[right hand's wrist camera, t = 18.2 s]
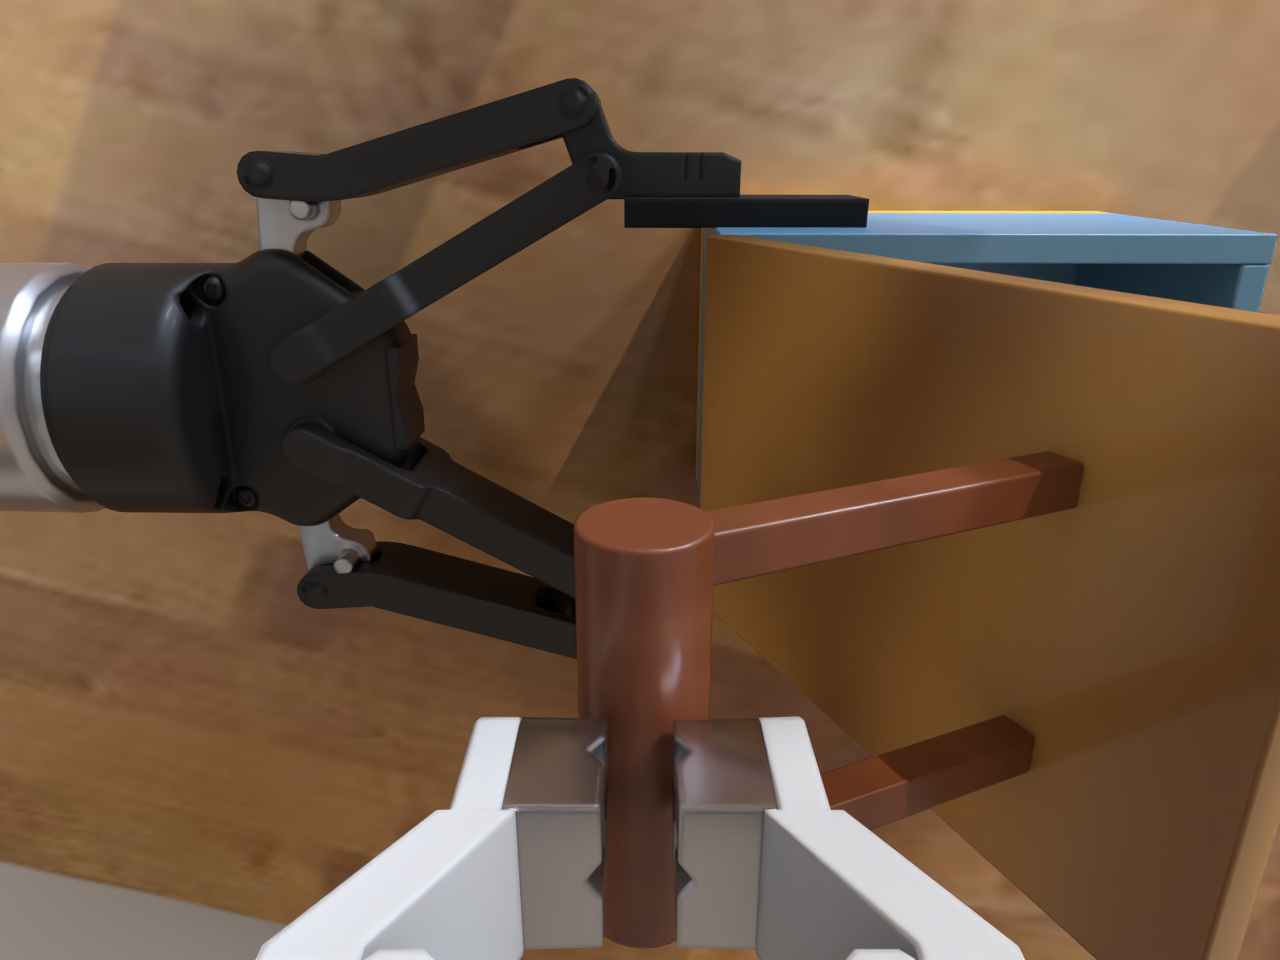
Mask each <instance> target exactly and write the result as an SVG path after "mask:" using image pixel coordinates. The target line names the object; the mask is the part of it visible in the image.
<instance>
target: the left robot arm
mask: <svg viewBox="0 0 1280 960" xmlns="http://www.w3.org/2000/svg"><path fill="white" fill-rule="evenodd" d="M562 137H563V139H564V142H565V144H566V147H567V150H568V153H569V155H570V158H571V161H572V164H573V165H571V166H570V167H568V168H566V169H565V170H563V171H561V172H560V173H558V174H557V175H555V176H553V177H552V178H550V179H548V180H547V181H545V182H543V183H542V184H540V185H539V186H537V187H535V188H534V189H532V190H530V191H529V192H527V193H525V194H524V195H522V196H521V197H519V198H517V199H516V200H514V201H512V202H511V203H509V204H507V205H506V206H504V207H503V208H501V209H499V210H498V211H496V212H494V213H493V214H491V215H489V216H488V217H486V218H484V219H483V220H481V221H480V222H478V223H476V224H475V225H473V226H471V227H470V228H468V229H466V230H465V231H463V232H462V233H460V234H458V235H457V236H455V237H453V238H452V239H450V240H448V241H447V242H445V243H444V244H442V245H440V246H439V247H437V248H435V249H434V250H432V251H430V252H429V253H427V254H425V255H424V256H422V257H421V258H419V259H417V260H416V261H414V262H412V263H411V264H409V265H407V266H406V267H404V268H403V269H401V270H399V271H398V272H396V273H394V274H392V275H390V276H389V277H387V278H385V279H383V280H382V281H380V282H378V283H377V284H375V285H373V286H372V287H370V288H368V289H367V290H365V289H363V288H362V287H360V286H359V285H357V284H356V283H354V282H353V281H351V280H350V279H349V278H347V277H346V276H344V275H343V274H341V273H340V272H338V271H337V270H336V269H334V268H333V267H331V266H330V265H328V264H327V263H325V262H324V261H322V260H321V259H320V258H318V257H317V256H315V255H314V254H312V253H311V252H309V251H307V250H306V242H307V239H308V237H309V235H310V234H311V233H312V232H313V231H315V230H316V229H318V228H323V227H328V226H330V225H332V224H334V223H335V222H336V221H337V220H338V218H339V215H340V211H341V200H344V199H351V198H359V197H366V196H370V195H374V194H379V193H382V192H386V191H389V190H392V189H395V188H399V187H402V186H405V185H408V184H412V183H415V182H418V181H422V180H425V179H428V178H431V177H435V176H438V175H441V174H444V173H448V172H451V171H454V170H457V169H461V168H464V167H467V166H471V165H474V164H477V163H480V162H484V161H487V160H490V159H493V158H497V157H500V156H503V155H507V154H510V153H513V152H516V151H520V150H523V149H526V148H529V147H533V146H536V145H539V144H542V143H546V142H549V141H552V140H556V139H559V138H562ZM740 174H741V160H739V159H736V158H734V157H732V156H730V155H727V154H725V153H689V152H688V153H685V152H630V151H628V150H625V149H623V148H622V147H621V146H619V145H618V144H617V142H616V141H615V140H614V138H613V136H612V134H611V132H610V129H609V126H608V123H607V120H606V117H605V115H604V112H603V109H602V106H601V101H600V99H599V97H598V95H597V94H596V92H595V91H594V90H593V89H592V88H591V87H590V86H589V85H588V84H586V83H585V82H584V81H582V80H579V79H576V78H573V79H565V80H562V81H559V82H556V83H552V84H549V85H546V86H543V87H540V88H536V89H533V90H530V91H527V92H524V93H520V94H517V95H514V96H511V97H508V98H504V99H501V100H498V101H495V102H492V103H488V104H485V105H482V106H479V107H476V108H472V109H469V110H466V111H463V112H460V113H457V114H453V115H450V116H447V117H444V118H441V119H437V120H434V121H431V122H428V123H425V124H421V125H418V126H415V127H412V128H409V129H405V130H402V131H399V132H396V133H393V134H389V135H386V136H383V137H380V138H377V139H373V140H370V141H367V142H364V143H361V144H357V145H354V146H351V147H348V148H345V149H342V150H338V151H335V152H332V153H329V154H316V153H303V152H284V151H255V152H249V153H247V154H246V155H244V156H243V157H242V158H241V160H240V162H239V163H238V169H237V175H238V179H239V182H240V184H241V185H242V187H243V188H244V190H245V191H246V192H248V193H249V194H251V195H252V196H255V197H256V201H257V216H258V230H259V244H260V251H258V252H256V253H254V254H252V255H250V256H249V257H247V258H246V259H244V260H242V261H241V262H238V263H107V264H102V265H98V266H95V267H93V268H90V267H87V266H84V265H80V264H77V263H0V511H35V512H75V513H83V512H93V511H99V510H102V509H104V508H108V509H110V510H114V511H118V512H164V513H229V512H243V511H261V512H266V513H269V514H272V515H275V516H278V517H280V518H282V519H284V520H286V521H288V522H290V523H292V524H295V525H298V526H299V531H300V535H301V540H302V545H303V549H304V554H305V558H306V563H307V568H308V572H307V573H306V574H305V576H304V577H303V578H302V579H301V580H300V582H299V584H298V586H297V593H298V596H299V598H300V600H301V601H302V602H303V603H304V604H305V605H307V606H309V607H311V608H315V609H329V608H347V607H365V606H373V607H377V608H381V609H384V610H388V611H392V612H396V613H400V614H404V615H408V616H412V617H416V618H419V619H423V620H427V621H431V622H435V623H439V624H443V625H447V626H451V627H454V628H458V629H462V630H466V631H470V632H474V633H478V634H482V635H486V636H489V637H493V638H497V639H501V640H505V641H509V642H513V643H517V644H521V645H524V646H528V647H532V648H536V649H540V650H544V651H548V652H552V653H556V654H560V655H563V656H567V657H571V658H575V659H577V635H576V599H575V563H574V528H573V527H574V524H572V523H570V522H568V521H566V520H564V519H562V518H560V517H558V516H556V515H555V514H553V513H551V512H549V511H547V510H545V509H543V508H541V507H539V506H537V505H536V504H534V503H532V502H530V501H528V500H526V499H524V498H522V497H520V496H518V495H516V494H515V493H513V492H511V491H509V490H507V489H505V488H503V487H501V486H499V485H497V484H496V483H494V482H492V481H490V480H488V479H486V478H484V477H482V476H480V475H478V474H477V473H475V472H473V471H471V470H469V469H467V468H465V467H463V466H461V465H459V464H458V463H456V462H454V461H453V460H452V458H451V457H450V455H449V454H448V453H447V452H446V451H444V450H443V449H441V448H440V447H438V446H436V445H434V444H432V443H430V442H428V441H426V440H424V439H423V438H421V437H420V435H421V434H422V433H423V432H424V431H425V427H424V415H423V406H422V404H421V401H420V398H419V395H418V392H417V390H416V387H415V383H414V381H415V376H416V370H417V365H418V360H419V356H418V344H417V334H411V333H410V330H409V328H408V326H407V325H406V323H405V322H404V320H406V319H407V318H409V317H411V316H412V315H414V314H415V313H417V312H419V311H420V310H422V309H424V308H425V307H427V306H429V305H430V304H432V303H434V302H435V301H437V300H439V299H440V298H442V297H444V296H445V295H447V294H449V293H450V292H452V291H454V290H455V289H457V288H459V287H461V286H462V285H464V284H466V283H467V282H469V281H471V280H472V279H474V278H476V277H477V276H479V275H481V274H482V273H484V272H486V271H487V270H489V269H491V268H492V267H494V266H496V265H497V264H499V263H501V262H502V261H504V260H506V259H507V258H509V257H511V256H512V255H514V254H516V253H517V252H519V251H521V250H522V249H524V248H526V247H528V246H529V245H531V244H533V243H534V242H536V241H538V240H539V239H541V238H543V237H544V236H546V235H548V234H549V233H551V232H553V231H554V230H556V229H558V228H559V227H561V226H563V225H564V224H566V223H568V222H569V221H571V220H573V219H574V218H576V217H578V216H579V215H581V214H583V213H584V212H586V211H588V210H589V209H591V208H593V207H594V206H596V205H598V204H600V203H601V202H603V201H605V200H606V199H625V228H717V227H776V228H867V217H868V205H869V199H866V198H861V197H856V196H851V195H740ZM360 497H361V498H363V499H365V500H367V501H369V502H371V503H373V504H375V505H377V506H379V507H381V508H383V509H385V510H387V511H389V512H390V513H392V514H394V515H396V516H399V517H401V518H404V519H409V520H410V519H420V520H423V521H425V522H427V523H429V524H431V525H433V526H435V527H437V528H439V529H440V530H442V531H444V532H446V533H448V534H450V535H452V536H454V537H456V538H458V539H460V540H462V541H464V542H466V543H468V544H470V545H472V546H474V547H476V548H478V549H480V550H482V551H484V552H485V553H487V554H489V555H491V556H493V557H495V558H497V559H499V560H501V561H503V562H505V563H507V564H509V565H511V566H513V567H515V568H517V569H519V570H521V571H523V572H525V573H527V574H529V575H530V576H532V577H530V576H526V575H522V574H518V573H514V572H511V571H507V570H503V569H499V568H495V567H492V566H488V565H484V564H480V563H476V562H473V561H469V560H465V559H461V558H457V557H454V556H450V555H446V554H442V553H439V552H435V551H431V550H427V549H423V548H420V547H416V546H412V545H407V544H402V543H395V542H376V540H375V539H374V534H373V533H372V532H371V531H370V530H367V529H362V530H361V529H356V528H352V527H350V526H348V525H346V524H345V523H344V522H343V521H342V519H341V518H340V516H339V513H340V512H341V511H343V510H344V509H345V508H347V507H348V506H349V505H351V504H352V503H354V502H355V501H356V500H358V499H359V498H360ZM533 577H534V578H533Z"/></svg>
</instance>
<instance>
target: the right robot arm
mask: <svg viewBox="0 0 1280 960" xmlns="http://www.w3.org/2000/svg"><path fill="white" fill-rule="evenodd" d="M607 754H608V745H607V719H586V718H539V717H523V718H522V719H521V718H520V717H480V718H479V719H478V720H477V721H476V723H475V724H474V727H473V730H472V734H471V737H470V740H469V744H468V747H467V751H466V754H465V757H464V761H463V764H462V768H461V771H460V774H459V778H458V781H457V785H456V788H455V791H454V795H453V798H452V802H451V805H450V808H449V810H436V811H434V812H433V813H432V814H431V815H429V816H428V817H427V818H425V819H424V820H423V821H421V822H420V823H419V824H418V825H416V826H415V827H414V828H412V829H411V830H410V831H409V832H407V833H406V834H405V835H403V836H402V837H401V838H400V839H398V840H397V841H396V842H394V843H393V844H392V845H391V846H389V847H388V848H387V849H385V850H384V851H383V852H382V853H380V854H379V855H378V856H376V857H375V858H374V859H373V860H371V861H370V862H369V863H367V864H366V865H365V866H363V867H362V868H361V869H360V870H358V871H357V872H356V873H354V874H353V875H352V876H351V877H349V878H348V879H347V880H345V881H344V882H343V883H342V884H340V885H339V886H338V887H336V888H335V889H334V890H333V891H331V892H330V893H329V894H327V895H326V896H325V897H324V898H322V899H321V900H320V901H318V902H317V903H316V904H315V905H313V906H312V907H311V908H309V909H308V910H307V911H305V912H304V913H303V914H302V915H300V916H299V917H298V918H296V919H295V920H294V921H293V922H291V923H290V924H289V925H287V926H286V927H285V928H284V929H282V930H281V931H280V932H278V933H277V934H276V935H275V936H273V937H272V938H271V939H269V940H268V941H267V942H266V943H264V944H263V945H262V947H261V949H260V951H259V953H258V955H257V957H256V959H255V960H520V959H521V957H522V956H523V955H524V950H526V949H559V948H593V947H603V933H604V915H605V868H606V867H607V849H608V781H607V780H606V777H607ZM672 758H673V781H672V854H673V867H674V868H675V884H674V899H675V917H676V934H677V947H684V948H719V949H754V950H756V954H757V955H758V957H759V958H760V959H761V960H1025V959H1024V957H1023V955H1022V953H1021V951H1020V948H1019V946H1017V945H1016V944H1015V943H1014V942H1012V941H1011V940H1010V939H1008V938H1007V937H1006V936H1005V935H1003V934H1002V933H1001V932H999V931H998V930H997V929H996V928H994V927H993V926H992V925H990V924H989V923H988V922H987V921H985V920H984V919H983V918H981V917H980V916H979V915H978V914H976V913H975V912H974V911H972V910H971V909H970V908H969V907H967V906H966V905H965V904H963V903H962V902H961V901H960V900H958V899H957V898H956V897H955V896H953V895H952V894H951V893H949V892H948V891H947V890H946V889H944V888H943V887H942V886H940V885H939V884H938V883H937V882H935V881H934V880H933V879H931V878H930V877H929V876H928V875H926V874H925V873H924V872H922V871H921V870H920V869H919V868H917V867H916V866H915V865H913V864H912V863H911V862H910V861H908V860H907V859H906V858H904V857H903V856H902V855H901V854H899V853H898V852H897V851H896V850H894V849H893V848H892V847H890V846H889V845H888V844H887V843H885V842H884V841H883V840H881V839H880V838H879V837H878V836H876V835H875V834H874V833H872V832H871V831H870V830H869V829H867V828H866V827H865V826H863V825H862V824H861V823H860V822H858V821H857V820H856V819H854V818H853V817H852V816H851V815H849V814H848V813H847V812H845V811H844V810H831V809H830V806H829V802H828V799H827V796H826V792H825V789H824V786H823V782H822V779H821V775H820V772H819V769H818V765H817V762H816V759H815V755H814V752H813V749H812V745H811V742H810V738H809V735H808V732H807V728H806V725H805V722H804V720H803V719H802V718H801V717H799V716H797V717H767V718H758V719H709V720H673V736H672Z"/></svg>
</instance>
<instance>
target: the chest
mask: <svg viewBox="0 0 1280 960" xmlns="http://www.w3.org/2000/svg"><path fill="white" fill-rule="evenodd" d="M733 234H735V235H741V236H748V237H755V238H762V239H768V240H775V241H782V242H788V243H795V244H802V245H809V246H815V247H822V248H829V249H835V250H842V251H849V252H856V253H862V254H869V255H876V256H883V257H889V258H896V259H903V260H909V261H916V262H923V263H930V264H936V265H943V266H950V267H956V268H963V269H970V270H977V271H983V272H990V273H997V274H1003V275H1010V276H1017V277H1024V278H1030V279H1037V280H1044V281H1050V282H1057V283H1064V284H1071V285H1077V286H1084V287H1091V288H1098V289H1104V290H1111V291H1118V292H1124V293H1131V294H1138V295H1145V296H1151V297H1158V298H1165V299H1171V300H1178V301H1185V302H1192V303H1198V304H1205V305H1212V306H1218V307H1225V308H1232V309H1239V310H1245V311H1252V312H1259V308H1260V304H1261V300H1262V296H1263V292H1264V287H1265V283H1266V279H1267V275H1268V271H1269V265H1267V264H1270V263H1271V261H1272V257H1273V253H1274V248H1275V244H1276V240H1277V234H1272V233H1264V232H1256V231H1248V230H1240V229H1232V228H1224V227H1216V226H1208V225H1200V224H1192V223H1184V222H1176V221H1169V220H1161V219H1153V218H1145V217H1137V216H1129V215H1121V214H1113V213H1109V212H1101V211H868V217H867V228H776V227H717V228H701V256H700V300H699V343H698V387H697V431H696V474H695V475H696V484H697V489H698V497H699V506H700V496H701V456H702V417H703V377H704V337H705V297H706V258H707V237H708V236H710V235H733Z"/></svg>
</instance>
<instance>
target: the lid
mask: <svg viewBox="0 0 1280 960" xmlns="http://www.w3.org/2000/svg"><path fill="white" fill-rule="evenodd" d="M573 528H574V563H575V599H576V635H577V671H578V707H579V718H586V719H607V745H608V754H607V777H606V780H607V781H608V849H607V867H606V868H605V915H604V933H603V936H605V937H606V938H608V939H610V940H611V941H613V942H615V943H618V944H621V945H624V946H628V947H634V948H654V947H659V946H663V945H667V944H670V943H672V942H674V941H676V940H677V934H676V917H675V899H674V884H675V868H674V867H673V854H672V781H673V758H672V736H673V720H709V700H710V668H711V637H712V611H713V612H714V613H715V614H716V615H717V616H718V617H719V618H720V619H721V620H723V621H724V622H725V623H726V624H727V625H728V626H729V627H730V628H731V629H732V630H734V631H735V632H736V633H737V634H738V635H739V636H740V637H741V638H742V639H744V640H745V641H746V642H747V643H748V644H749V645H750V646H751V647H752V648H753V649H755V650H756V651H757V652H758V653H759V654H760V655H761V656H762V657H763V658H765V659H766V660H767V661H768V662H769V663H770V664H771V665H772V666H773V667H774V668H776V669H777V670H778V671H779V672H780V673H781V674H782V675H783V676H784V677H785V678H787V679H788V680H789V681H790V682H791V683H792V684H793V685H794V686H795V687H797V688H798V689H799V690H800V691H801V692H802V693H803V694H804V695H805V696H806V697H808V698H809V699H810V700H811V701H812V702H813V703H814V704H815V705H816V706H818V707H819V708H820V709H821V710H822V711H823V712H824V713H825V714H826V715H827V716H829V717H830V718H831V719H832V720H833V721H834V722H835V723H836V724H837V725H838V726H840V727H841V728H842V729H843V730H844V731H845V732H846V733H847V734H848V735H850V736H851V737H852V738H853V739H854V740H855V741H856V742H857V743H858V744H859V745H861V746H862V747H863V748H864V749H865V750H866V751H867V752H868V753H869V754H871V755H872V756H873V757H872V758H869V759H866V760H863V761H860V762H857V763H853V764H850V765H847V766H844V767H841V768H838V769H835V770H832V771H829V772H826V773H823V774H820V775H821V779H822V782H823V786H824V789H825V792H826V796H827V799H828V802H829V806H830V809H831V810H844V811H845V812H847V813H848V814H849V815H851V816H852V817H853V818H854V819H856V820H857V821H858V822H860V823H861V824H862V825H863V826H865V827H866V828H867V829H869V830H872V829H874V828H877V827H880V826H882V825H885V824H888V823H891V822H893V821H896V820H899V819H902V818H904V817H907V816H910V815H913V814H915V813H918V812H921V811H923V810H926V809H929V808H930V809H931V810H932V811H933V812H935V813H936V814H937V815H938V816H939V817H940V818H941V819H942V820H943V821H944V822H946V823H947V824H948V825H949V826H950V827H951V828H952V829H953V830H954V831H956V832H957V833H958V834H959V835H960V836H961V837H962V838H963V839H964V840H965V841H967V842H968V843H969V844H970V845H971V846H972V847H973V848H974V849H975V850H977V851H978V852H979V853H980V854H981V855H982V856H983V857H984V858H985V859H986V860H988V861H989V862H990V863H991V864H992V865H993V866H994V867H995V868H996V869H997V870H999V871H1000V872H1001V873H1002V874H1003V875H1004V876H1005V877H1006V878H1007V879H1009V880H1010V881H1011V882H1012V883H1013V884H1014V885H1015V886H1016V887H1017V888H1018V889H1020V890H1021V891H1022V892H1023V893H1024V894H1025V895H1026V896H1027V897H1028V898H1030V899H1031V900H1032V901H1033V902H1034V903H1035V904H1036V905H1037V906H1038V907H1039V908H1041V909H1042V910H1043V911H1044V912H1045V913H1046V914H1047V915H1048V916H1049V917H1050V918H1052V919H1053V920H1054V921H1055V922H1056V923H1057V924H1058V925H1059V926H1060V927H1062V928H1063V929H1064V930H1065V931H1066V932H1067V933H1068V934H1069V935H1070V936H1071V937H1073V938H1074V939H1075V940H1076V941H1077V942H1078V943H1079V944H1080V945H1081V946H1083V947H1084V948H1085V949H1086V950H1087V951H1088V952H1089V953H1090V954H1091V955H1092V956H1094V957H1095V958H1096V959H1097V960H1237V959H1238V955H1239V952H1240V949H1241V946H1242V942H1243V939H1244V936H1245V933H1246V929H1247V926H1248V923H1249V920H1250V916H1251V913H1252V910H1253V907H1254V903H1255V900H1256V897H1257V894H1258V890H1259V887H1260V884H1261V880H1262V877H1263V874H1264V871H1265V867H1266V864H1267V861H1268V858H1269V854H1270V851H1271V848H1272V845H1273V841H1274V838H1275V835H1276V832H1277V828H1278V825H1279V822H1280V316H1279V315H1272V314H1265V313H1259V312H1252V311H1245V310H1239V309H1232V308H1225V307H1218V306H1212V305H1205V304H1198V303H1192V302H1185V301H1178V300H1171V299H1165V298H1158V297H1151V296H1145V295H1138V294H1131V293H1124V292H1118V291H1111V290H1104V289H1098V288H1091V287H1084V286H1077V285H1071V284H1064V283H1057V282H1050V281H1044V280H1037V279H1030V278H1024V277H1017V276H1010V275H1003V274H997V273H990V272H983V271H977V270H970V269H963V268H956V267H950V266H943V265H936V264H930V263H923V262H916V261H909V260H903V259H896V258H889V257H883V256H876V255H869V254H862V253H856V252H849V251H842V250H835V249H829V248H822V247H815V246H809V245H802V244H795V243H788V242H782V241H775V240H768V239H762V238H755V237H748V236H741V235H735V234H733V235H710V236H708V237H707V258H706V297H705V337H704V377H703V417H702V456H701V496H700V508H697V507H695V506H693V505H690V504H687V503H684V502H680V501H675V500H669V499H662V498H626V499H619V500H613V501H608V502H604V503H601V504H598V505H595V506H593V507H590V508H589V509H587V510H585V511H584V512H582V513H581V514H580V515H579V516H578V517H577V519H576V521H575V523H574V527H573Z"/></svg>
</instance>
